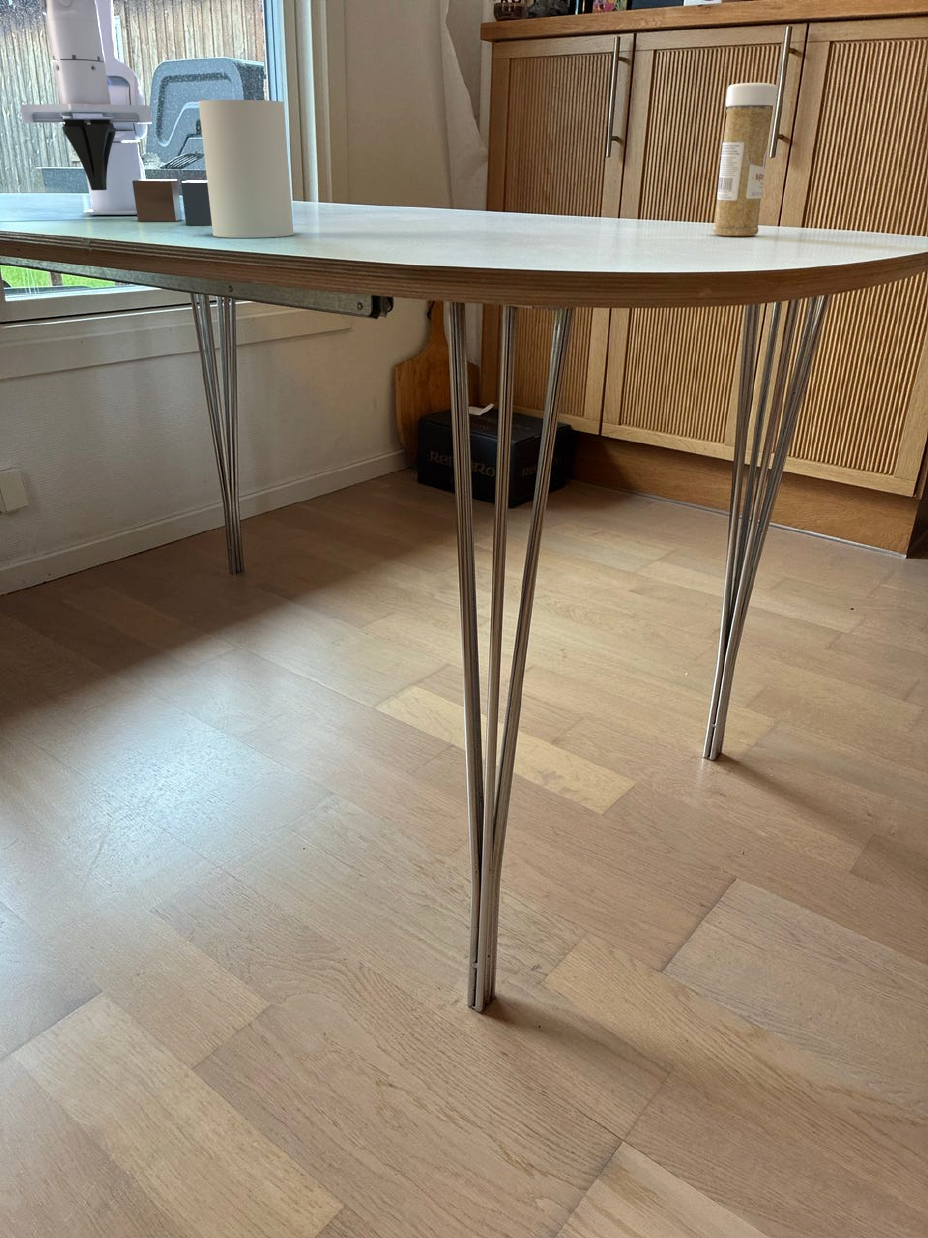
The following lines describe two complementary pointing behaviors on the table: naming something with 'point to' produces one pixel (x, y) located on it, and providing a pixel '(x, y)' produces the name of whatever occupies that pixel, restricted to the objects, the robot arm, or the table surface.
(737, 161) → the spice jar
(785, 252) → the table surface
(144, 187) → the walnut block
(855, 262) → the table surface
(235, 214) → the cup
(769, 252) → the table surface
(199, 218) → the slate block
